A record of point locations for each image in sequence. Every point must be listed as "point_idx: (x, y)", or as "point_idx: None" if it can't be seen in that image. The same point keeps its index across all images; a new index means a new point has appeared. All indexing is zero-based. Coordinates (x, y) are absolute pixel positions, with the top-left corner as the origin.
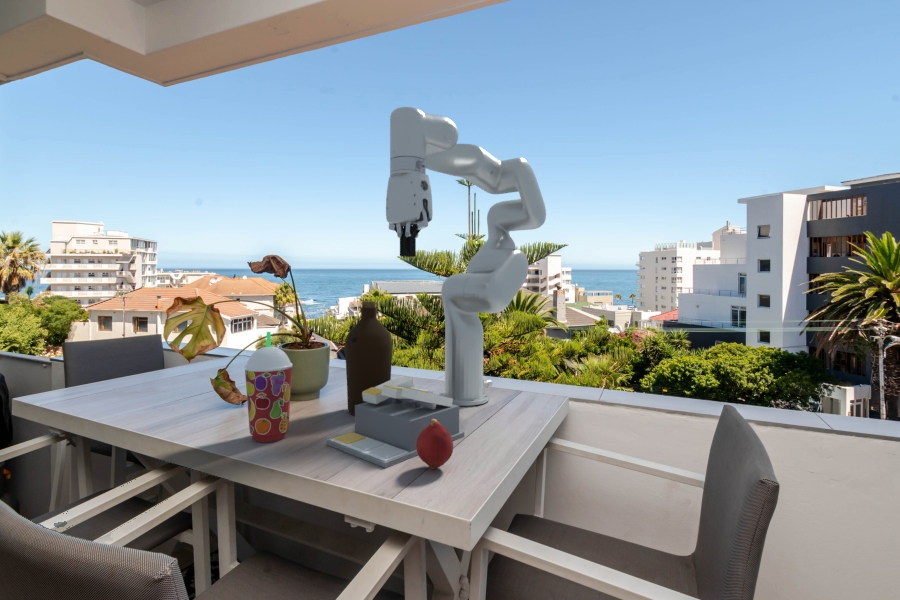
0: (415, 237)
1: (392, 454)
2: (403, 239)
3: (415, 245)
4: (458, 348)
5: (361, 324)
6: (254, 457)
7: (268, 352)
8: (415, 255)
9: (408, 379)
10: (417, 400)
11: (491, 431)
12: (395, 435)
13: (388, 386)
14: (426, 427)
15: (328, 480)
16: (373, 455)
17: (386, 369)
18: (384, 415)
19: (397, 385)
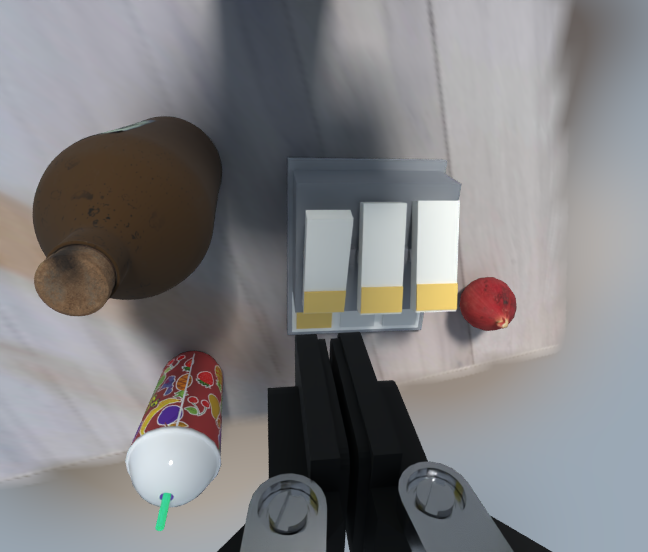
0: (434, 481)
1: (416, 314)
2: (358, 547)
3: (379, 391)
4: None
5: (125, 288)
6: (257, 408)
7: (192, 496)
8: (358, 332)
9: (348, 228)
10: (411, 261)
11: (475, 98)
12: None
13: (375, 312)
14: (489, 325)
15: None
16: (392, 326)
17: (214, 185)
18: None
19: (348, 262)
